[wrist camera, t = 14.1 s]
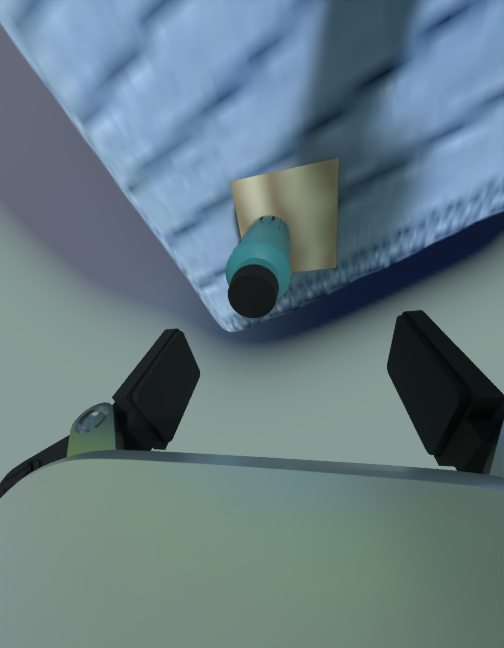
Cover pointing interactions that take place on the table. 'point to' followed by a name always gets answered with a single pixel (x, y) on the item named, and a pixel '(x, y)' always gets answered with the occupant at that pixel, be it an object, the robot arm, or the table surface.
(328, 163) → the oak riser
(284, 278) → the beverage bottle
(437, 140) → the table surface
